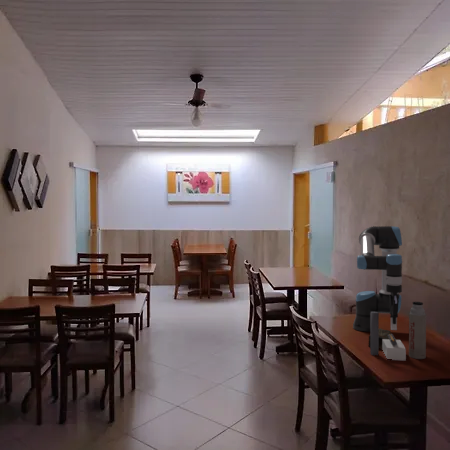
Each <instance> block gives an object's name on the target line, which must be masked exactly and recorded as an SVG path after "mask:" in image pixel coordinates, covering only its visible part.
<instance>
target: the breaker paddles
mask: <svg viewBox="0 0 450 450" xmlns="http://www.w3.org/2000/svg"><path fill="white" fill-rule="evenodd" d="M388 338H389V340H390V342H391V344H392V345H397V342H396V340H397V339H396V338H395V336H394V334H393V333H391V334H389V335H388Z"/></svg>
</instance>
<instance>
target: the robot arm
mask: <svg viewBox="0 0 450 450" xmlns="http://www.w3.org/2000/svg"><path fill="white" fill-rule="evenodd" d="M401 233H402V232H401V229H400V227H399V226H392V225H391V226H389V225H388V226H387V225H386V226H383V225H382V226H379V225H378V226H374V225H373V226H369V227H367V228H365V229H364V230H363V231H362V232H361V233H360V234H359V237H358V243H359V245H360V255H357V257H356V268H357V269H358V270H363V271H364V270H368V271H369V270H372V271H373V270H375V271H381V289H379V290H378V293H376V291H374V290H366V291H365V290H364V291H359V292H358V293H357V294H356V295H355V318H354V321H353V323H352V329H354V330H356V331H359V332H367V333H368V332H370V322H371V312H378V313H379V314H388V315H389V314H390V316H389V317H390V331H397V330H398V327H397V326H398V316H399V313H400V311H401V308H402V307H401V306H402V295H401V293H402V292H403V286H402V283H403V276H402V275H403V274H402V273H403V256H402V255H401V254H398V250H399V249H400V246H403V239H402V234H401ZM375 246H379V247H378V248H379V249H380V251H381V255H376V254H375Z"/></svg>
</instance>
